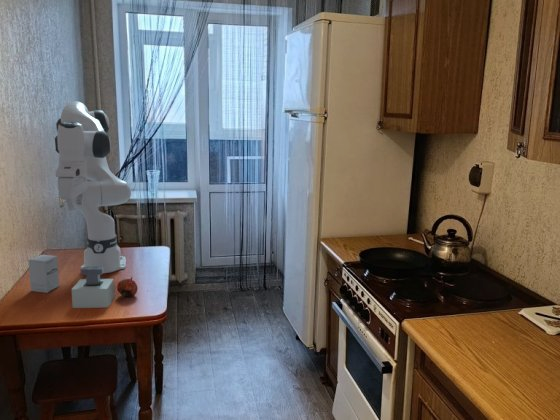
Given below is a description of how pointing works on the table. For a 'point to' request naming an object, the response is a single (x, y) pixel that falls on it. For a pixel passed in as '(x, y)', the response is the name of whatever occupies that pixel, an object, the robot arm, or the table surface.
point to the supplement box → (43, 273)
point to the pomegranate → (127, 287)
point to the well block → (93, 294)
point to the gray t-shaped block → (92, 275)
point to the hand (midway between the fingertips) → (75, 207)
